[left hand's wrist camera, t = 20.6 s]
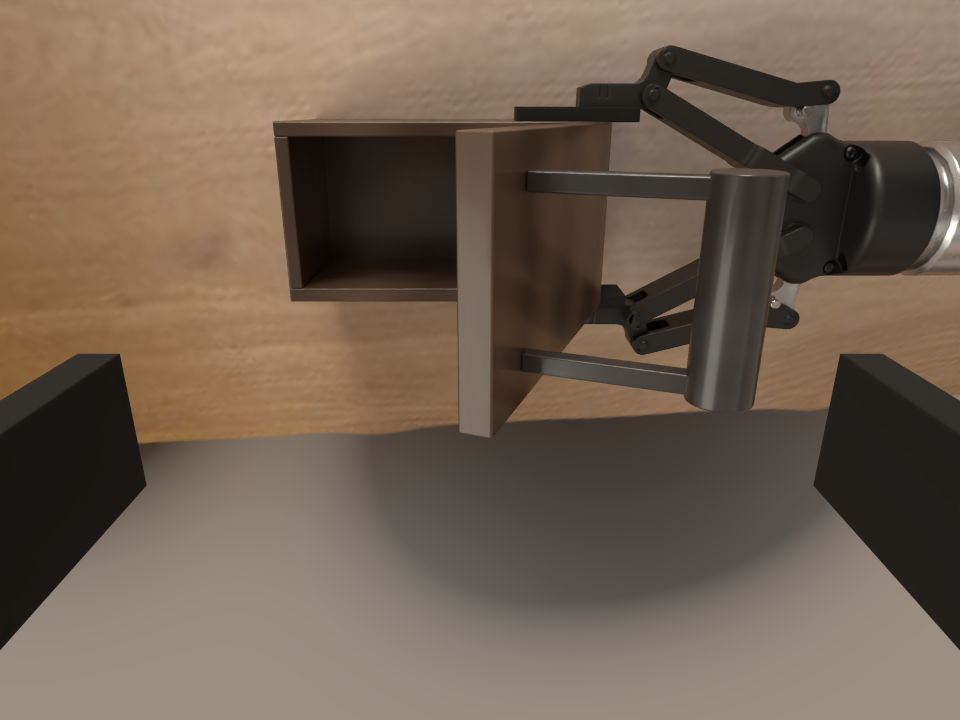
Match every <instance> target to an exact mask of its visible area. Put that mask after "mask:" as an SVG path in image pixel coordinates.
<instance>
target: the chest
mask: <svg viewBox="0 0 960 720" xmlns="http://www.w3.org/2000/svg"><path fill="white" fill-rule="evenodd" d="M578 122H595V121H514V120H419V119H311V120H292V121H274V122H273V129H274V136H276V137H275V138H274V139H275V149H276V159H277V168H278V178H279V188H280V198H281V208H282V217H283V227H284V237H285V247H286V256H287V266H288V276H289V286H290V297H291V301H457V227H456V140H455V133H456V131H457V130H465V129H482V128H498V127H514V126H530V125H546V124H562V123H578Z"/></svg>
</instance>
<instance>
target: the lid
mask: <svg viewBox="0 0 960 720" xmlns="http://www.w3.org/2000/svg"><path fill="white" fill-rule="evenodd" d="M611 129H612V123H611V122H578V123H562V124H546V125H530V126H514V127H498V128H482V129H465V130H457V131H456V133H455V140H456V227H457V314H458V400H459V433H462V434H468V435H473V436H479V437H484V438H492V437H493V436H494V435H495V434H496V433H497V431H498V430H499V429H500V428H501V426H502V425H503V424H504V423H505V421H506V420H507V419H508V418H509V416H510V415H511V414H512V413H513V412H514V410H515V409H516V408H517V407H518V405H519V404H520V403H521V402H522V400H523V399H524V398H525V397H526V395H527V394H528V393H529V392H530V391H531V389H532V388H533V387H534V386H535V384H536V383H537V382H538V381H539V379H540V378H541V377H542V376H543V375H550V376H557V377H564V378H571V379H578V380H585V381H592V382H599V383H606V384H614V385H621V386H628V387H635V388H642V389H649V390H656V391H663V392H670V393H677V394H684V398H685V399H686V401H687V402H689V403H690V404H692V405H693V406H695V407H698V408H701V409H704V410H707V411H712V412H718V413H740V412H745V411H747V410H749V409H751V408H752V406H753V405H754V400H755V393H756V387H757V381H758V374H759V368H760V362H761V356H762V349H763V343H764V337H765V331H766V324H767V318H768V312H769V306H770V299H771V293H772V287H773V280H774V274H775V268H776V262H777V255H778V249H779V243H780V237H781V230H782V224H783V218H784V211H785V205H786V199H787V193H788V186H789V180H790V173H788V172H785V171H779V170H767V169H715V170H712V171H710V175H705V174H674V173H642V172H611V171H609V159H610V144H611ZM607 196H620V197H642V198H665V199H687V200H707V201H706V209H705V218H704V226H703V235H702V243H701V252H700V260H699V268H698V277H697V285H696V294H695V302H694V311H693V319H692V328H691V336H690V345H689V353H688V362H687V369H686V368H678V367H670V366H662V365H654V364H647V363H639V362H631V361H623V360H615V359H607V358H600V357H592V356H584V355H576V354H568V353H561V352H562V351H563V350H564V349H565V347H566V346H567V345H568V344H569V342H570V341H571V340H572V339H573V337H574V336H575V335H576V334H577V332H578V331H579V330H580V329H581V328H582V326H583V325H584V324H585V323H586V321H587V320H588V319H589V318H590V316H591V315H592V314H593V313H594V311H595V310H596V309H597V308H598V307H599V305H600V294H601V279H602V264H603V249H604V234H605V219H606V204H607Z"/></svg>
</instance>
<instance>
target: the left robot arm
mask: <svg viewBox="0 0 960 720" xmlns="http://www.w3.org/2000/svg"><path fill="white" fill-rule="evenodd" d="M145 487H146V481H145V476H144V471H143V466H142V461H141V456H140V451H139V446H138V441H137V436H136V432H135V427H134V422H133V417H132V412H131V407H130V402H129V397H128V392H127V387H126V382H125V378H124V373H123V368H122V363H121V358H120V354H77V355H75V356H73V357H72V358H70V359H68V360H67V361H65V362H63V363H62V364H60V365H58V366H57V367H55V368H53V369H52V370H50V371H49V372H47V373H45V374H44V375H42V376H40V377H39V378H37V379H35V380H34V381H32V382H30V383H29V384H27V385H25V386H24V387H22V388H20V389H19V390H17V391H16V392H14V393H12V394H11V395H9V396H7V397H6V398H4V399H2V400H1V401H0V650H1V649H2V648H3V646H4V645H5V644H6V643H7V642H8V641H9V640H10V639H11V637H12V636H13V635H14V634H15V633H16V632H17V631H18V630H19V628H20V627H21V626H22V625H23V624H24V623H25V622H26V620H27V619H28V618H29V617H30V616H31V615H32V614H33V613H34V611H35V610H36V609H37V608H38V607H39V606H40V605H41V604H42V602H43V601H44V600H45V599H46V598H47V597H48V596H49V595H50V593H51V592H52V591H53V590H54V589H55V588H56V587H57V586H58V584H59V583H60V582H61V581H62V580H63V579H64V578H65V576H66V575H67V574H68V573H69V572H70V571H71V570H72V569H73V568H74V566H75V565H76V564H77V563H78V562H79V561H80V560H81V559H82V557H83V556H84V555H85V554H86V553H87V552H88V551H89V550H90V548H91V547H92V546H93V545H94V544H95V543H96V542H97V541H98V539H99V538H100V537H101V536H102V535H103V534H104V533H105V532H106V530H107V529H108V528H109V527H110V526H111V525H112V524H113V523H114V521H115V520H116V519H117V518H118V517H119V516H120V515H121V514H122V512H123V511H124V510H125V509H126V508H127V507H128V506H129V505H130V503H131V502H132V501H133V500H134V499H135V498H136V497H137V496H138V494H139V493H140V492H141V491H142V490H143V489H144V488H145ZM814 487H815V488H816V489H817V490H818V491H819V492H820V493H821V494H822V496H823V497H824V498H825V499H826V500H827V501H828V502H829V503H830V505H831V506H832V507H833V508H834V509H835V510H836V511H837V512H838V514H839V515H840V516H841V517H842V518H843V519H844V520H845V521H846V523H847V524H848V525H849V526H850V527H851V528H852V529H853V530H854V532H855V533H856V534H857V535H858V536H859V537H860V538H861V539H862V541H863V542H864V543H865V544H866V545H867V546H868V547H869V548H870V550H871V551H872V552H873V553H874V554H875V555H876V556H877V557H878V559H879V560H880V561H881V562H882V563H883V564H884V565H885V566H886V568H887V569H888V570H889V571H890V572H891V573H892V574H893V575H894V577H895V578H896V579H897V580H898V581H899V582H900V583H901V584H902V586H903V587H904V588H905V589H906V590H907V591H908V592H909V593H910V595H911V596H912V597H913V598H914V599H915V600H916V601H917V602H918V604H919V605H920V606H921V607H922V608H923V609H924V610H925V611H926V613H927V614H928V615H929V616H930V617H931V618H932V619H933V621H934V622H935V623H936V624H937V625H938V626H939V627H940V628H941V629H942V631H943V632H944V633H945V634H946V635H947V636H948V637H949V639H950V640H951V641H952V642H953V643H954V644H955V645H956V646H957V648H958V649H959V650H960V401H959V400H958V399H956V398H954V397H953V396H951V395H949V394H948V393H946V392H944V391H943V390H941V389H940V388H938V387H936V386H935V385H933V384H931V383H930V382H928V381H926V380H925V379H923V378H921V377H920V376H918V375H916V374H915V373H913V372H911V371H910V370H908V369H907V368H905V367H903V366H902V365H900V364H898V363H897V362H895V361H893V360H892V359H890V358H888V357H887V356H885V355H883V354H840V358H839V363H838V368H837V373H836V378H835V382H834V387H833V392H832V397H831V402H830V407H829V412H828V417H827V422H826V427H825V432H824V437H823V441H822V446H821V451H820V456H819V461H818V466H817V471H816V476H815V481H814Z"/></svg>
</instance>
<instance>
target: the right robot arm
mask: <svg viewBox="0 0 960 720" xmlns="http://www.w3.org/2000/svg"><path fill="white" fill-rule="evenodd" d="M671 78H673V79H677V80H680V81H683V82H687V83H690V84H693V85H697V86H700V87H703V88H707V89H710V90H714V91H717V92H720V93H724V94H727V95H730V96H734V97H737V98H741V99H744V100H747V101H751V102H754V103H757V104H761V105H765V106H770V107H784V108H783V115H784V117H785V119H786V120H788V121H790V122H795V123H797V124H798V125H799V126H800V128H801V134H800V135H798V136H797V137H795V138H794V139H792V140H791V141H789V142H788V143H786V144H785V145H783V146H782V147H780V148H779V149H777V150H776V151H775V152H773V153H772V152H770V151H768V150H767V149H765V148H763V147H761V146H759V145H756V144H754V143H753V142H751V141H749V140H748V139H746V138H745V137H743V136H741V135H740V134H738V133H736V132H735V131H733V130H732V129H730V128H728V127H727V126H725V125H724V124H722V123H720V122H719V121H717V120H716V119H714V118H712V117H711V116H709V115H708V114H706V113H704V112H703V111H701V110H700V109H698V108H696V107H695V106H693V105H691V104H690V103H688V102H687V101H685V100H683V99H682V98H680V97H679V96H677V95H675V94H674V93H672V92H671V91H669V90H667V86H668V84H669V82H670V79H671ZM839 94H840V86H839V84H838V83H837V82H836V81H834V80H824V81H812V82H801V83H795V82H792V81H789V80H785V79H782V78H779V77H775V76H772V75H769V74H766V73H762V72H759V71H756V70H752V69H749V68H746V67H742V66H739V65H736V64H732V63H729V62H726V61H722V60H719V59H716V58H712V57H709V56H706V55H703V54H699V53H696V52H693V51H689V50H686V49H683V48H679V47H676V46H666V47H663V48H660V49H657V50H655V51H653V52H652V53H651V54H650V55H649V57H648V60H647V66H646V68H645V70H644V73H643V75H642V77H641V78H640V79H639V80H638V81H637V82H636V83H633V84H596V83H590V84H586V85H584V86H581V87H579V88H577V96H576V107H515V109H514V121H595V122H639V120H640V109H642V110H643V111H645V112H647V113H648V114H650V115H652V116H653V117H655V118H657V119H658V120H660V121H661V122H663V123H665V124H666V125H668V126H670V127H671V128H673V129H675V130H676V131H678V132H679V133H681V134H683V135H684V136H686V137H688V138H689V139H691V140H693V141H694V142H696V143H697V144H699V145H701V146H702V147H704V148H706V149H707V150H709V151H711V152H712V153H714V154H715V155H717V156H719V157H720V158H722V159H724V160H725V161H727V163H729V164H730V165H731V166H733V167H735V168H736V169H767V170H779V171H785V172H788V173H790V180H789V186H788V193H787V199H786V205H785V211H784V218H783V224H782V230H781V237H780V243H779V249H778V255H777V262H776V268H775V274H774V275H775V276H776V277H778V278H777V281H776V282H775V284H774V285H773V287H772V293H771V299H770V306H769V312H768V318H767V324H766V327H768V328H779V329H791V328H793V327H795V326H796V325H797V324H798V322H799V314H798V313H797V312H796V311H795V310H793V308H794V304H795V300H796V296H797V293H798V289H799V285H800V284H801V283H804V282H806V281H808V280H810V279H812V278H815V277H818V276H824V275H830V276H889V275H895V274H898V273H900V274H903V275H911V276H921V275H960V141H925V142H920V143H918V144H917V143H915V142H911V141H841V140H838V139H836V138H834V137H833V136H832V135H830V134H828V133H827V123H828V112H829V104H831V103H833V102H834V101H836V100H837V98H838V97H839ZM699 260H700V258H699V259H697V260H695V261H693V262H691V263H689V264H687V265H685V266H683V267H681V268H679V269H677V270H675V271H673V272H672V273H670V274H668V275H666V276H664V277H662V278H660V279H658V280H656V281H654V282H652V283H650V284H648V285H646V286H644V287H642V288H640V289H638V290H636V291H634V292H632V293H630V294H628V295H626V296H625V295H624V294H623V292H622V291H621V290H620V288H619V287H618V286H617V285H601V294H600V305H599V307H598V308H597V309H596V310H595V311H594V313H593V314H592V315H591V316H590V318H589V319H588V320H587V321H586V323H585V324H619V325H622V326H623V328H624V331H625V336H626V338H627V340H628V342H629V343H630V345H631V346H632V348H633V349H634V351H635V352H636V353H637V354H640V355H645V354H649V353H653V352H657V351H661V350H665V349H670V348H674V347H678V346H682V345H686V344H690V336H691V328H692V319H693V311H694V309H692V310H687V311H683V312H679V313H675V314H671V315H667V316H663V317H659V318H655V317H657V316H659V315H661V314H663V313H665V312H667V311H669V310H671V309H673V308H675V307H677V306H679V305H681V304H683V303H685V302H687V301H689V300H691V299H693V298H695V294H696V285H697V277H698V268H699ZM653 318H655V319H653Z"/></svg>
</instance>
